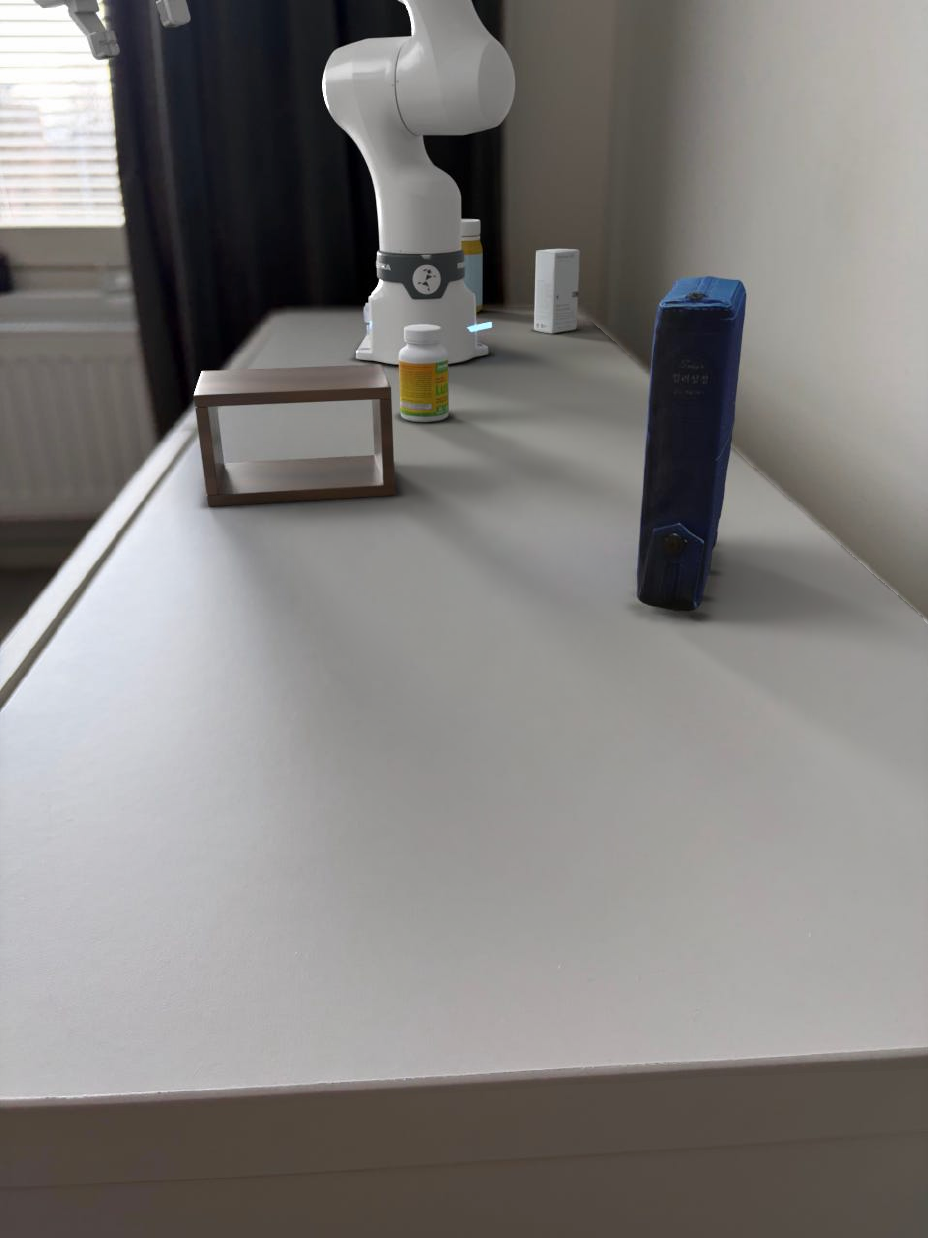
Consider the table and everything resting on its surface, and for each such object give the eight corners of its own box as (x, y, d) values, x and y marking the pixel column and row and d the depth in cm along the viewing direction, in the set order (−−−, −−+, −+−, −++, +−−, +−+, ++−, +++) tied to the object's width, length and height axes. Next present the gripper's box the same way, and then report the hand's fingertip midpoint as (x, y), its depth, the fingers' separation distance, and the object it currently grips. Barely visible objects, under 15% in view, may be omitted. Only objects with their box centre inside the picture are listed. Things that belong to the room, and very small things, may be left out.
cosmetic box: (553, 334, 151) (556, 252, 146) (532, 330, 154) (534, 250, 149) (578, 329, 155) (582, 249, 149) (557, 325, 158) (560, 247, 152)
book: (705, 624, 62) (745, 300, 53) (623, 613, 63) (648, 296, 54) (720, 542, 74) (754, 269, 65) (650, 535, 76) (675, 266, 67)
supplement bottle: (442, 424, 105) (441, 332, 100) (395, 421, 106) (391, 330, 101) (453, 411, 109) (452, 323, 105) (407, 409, 110) (404, 322, 106)
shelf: (214, 473, 90) (201, 370, 85) (385, 464, 92) (381, 364, 88) (207, 506, 82) (193, 395, 77) (395, 495, 84) (391, 386, 80)
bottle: (439, 313, 168) (438, 221, 162) (446, 307, 175) (445, 218, 168) (478, 314, 167) (479, 222, 161) (484, 308, 174) (485, 218, 167)
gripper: (197, -224, 68) (255, 2, 73) (42, -115, 80) (102, 71, 85) (124, -239, 63) (192, 3, 69) (-28, -122, 75) (40, 75, 81)
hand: (141, 41), depth 77 cm, fingers open, 8 cm apart
